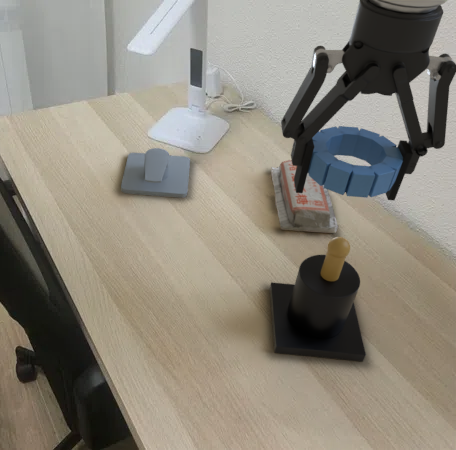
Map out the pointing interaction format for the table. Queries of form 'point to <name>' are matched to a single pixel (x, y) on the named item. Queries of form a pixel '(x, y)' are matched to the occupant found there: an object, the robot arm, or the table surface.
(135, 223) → the table surface
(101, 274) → the table surface
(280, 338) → the tape holder
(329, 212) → the packaged product
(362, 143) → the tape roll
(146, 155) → the shower valve
